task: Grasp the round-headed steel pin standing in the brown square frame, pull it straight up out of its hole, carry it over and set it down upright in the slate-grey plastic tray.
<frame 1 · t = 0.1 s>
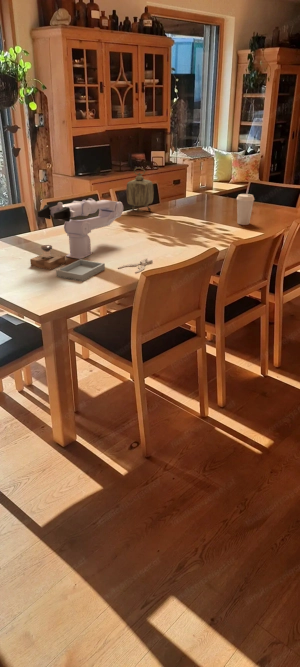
hand: (46, 215, 194), 22 cm above the table, tool horizontal, fingers open, 7 cm apart
brown square frame: (48, 264, 207), on the table
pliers: (138, 267, 206), on the table
coffee cup: (243, 223, 272), on the table
tabletop clock: (139, 211, 299), on the table
tray: (81, 272, 198), on the table
pin: (47, 255, 206), in the brown square frame
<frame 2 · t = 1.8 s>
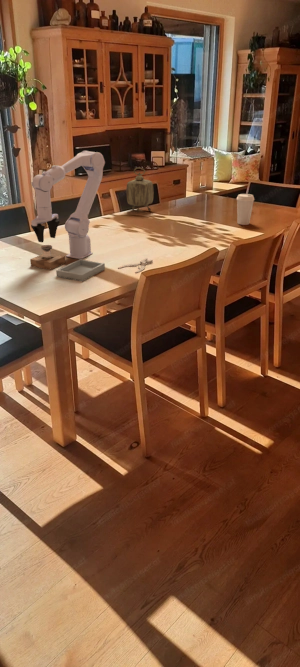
hand: (46, 239, 205), 10 cm above the table, tool pointing down, fingers open, 7 cm apart
nothing on the table moved.
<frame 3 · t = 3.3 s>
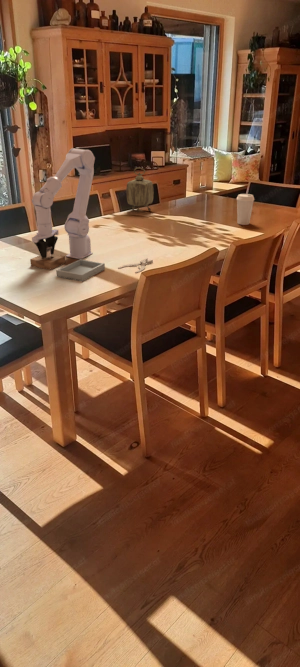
hand: (47, 255, 206), 4 cm above the table, tool pointing down, fingers closed on pin, 4 cm apart
pin: (47, 255, 206), in the brown square frame, touching gripper
everything else where it was.
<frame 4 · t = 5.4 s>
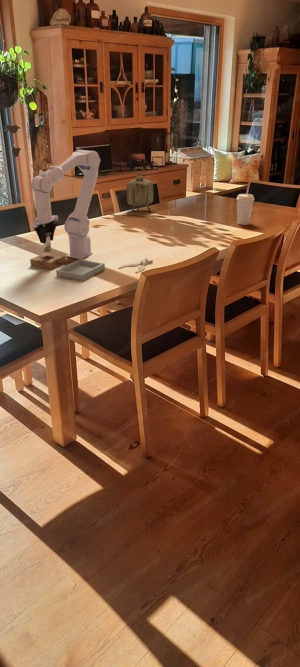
hand: (46, 241, 203), 10 cm above the table, tool pointing down, fingers closed on pin, 4 cm apart
pin: (46, 241, 203), point 10 cm above the table, touching gripper
everything else where it was.
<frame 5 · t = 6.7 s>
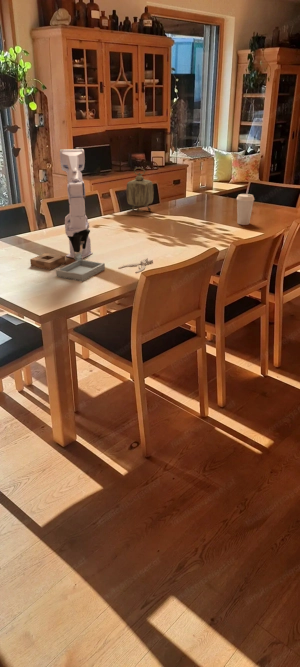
hand: (79, 250, 194), 9 cm above the table, tool pointing down, fingers closed on pin, 4 cm apart
pin: (78, 250, 194), point 9 cm above the table, tilted 7°, touching gripper
everything else where it was.
when the fingers open (5 cm above the table, at t = 7.7 s): pin stays where it is, resting on tray.
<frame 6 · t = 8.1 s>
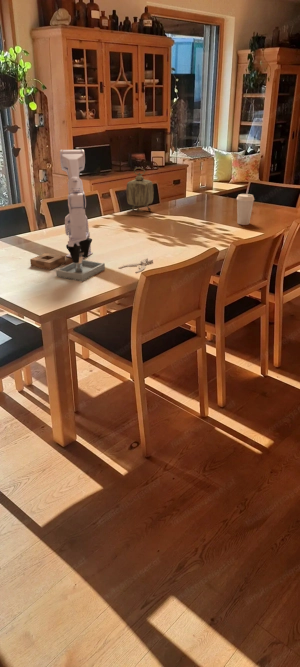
hand: (80, 259, 196), 5 cm above the table, tool pointing down, fingers open, 7 cm apart
pin: (78, 261, 197), in the tray
everything else where it was.
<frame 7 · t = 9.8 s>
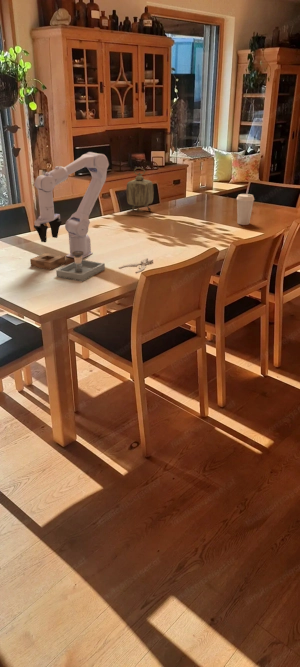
hand: (49, 239, 207), 9 cm above the table, tool pointing down, fingers open, 7 cm apart
nothing on the table moved.
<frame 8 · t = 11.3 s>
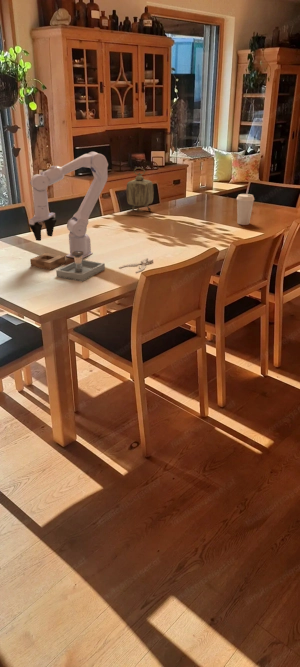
hand: (44, 238, 209), 9 cm above the table, tool pointing down, fingers open, 7 cm apart
nothing on the table moved.
at the end: pin inside the target area on the tray (1.0 cm from its centre), point 4.4 cm above the tray's base; the gripper is holding nothing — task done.
